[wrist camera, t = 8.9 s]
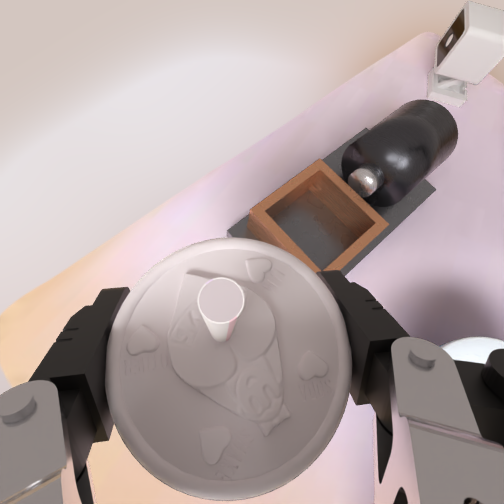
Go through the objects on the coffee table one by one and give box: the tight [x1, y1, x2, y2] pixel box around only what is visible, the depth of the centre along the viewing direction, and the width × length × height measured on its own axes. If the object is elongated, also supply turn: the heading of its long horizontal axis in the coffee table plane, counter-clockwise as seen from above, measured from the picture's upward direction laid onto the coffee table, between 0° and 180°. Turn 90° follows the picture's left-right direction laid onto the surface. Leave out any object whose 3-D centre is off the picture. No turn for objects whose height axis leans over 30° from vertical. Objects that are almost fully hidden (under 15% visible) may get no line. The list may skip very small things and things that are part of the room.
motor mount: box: [227, 100, 458, 276], centre depth 31 cm, size 24×12×10 cm, turn 131°
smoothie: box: [105, 237, 352, 501], centre depth 10 cm, size 6×6×14 cm
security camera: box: [427, 1, 504, 107], centre depth 41 cm, size 6×7×10 cm
